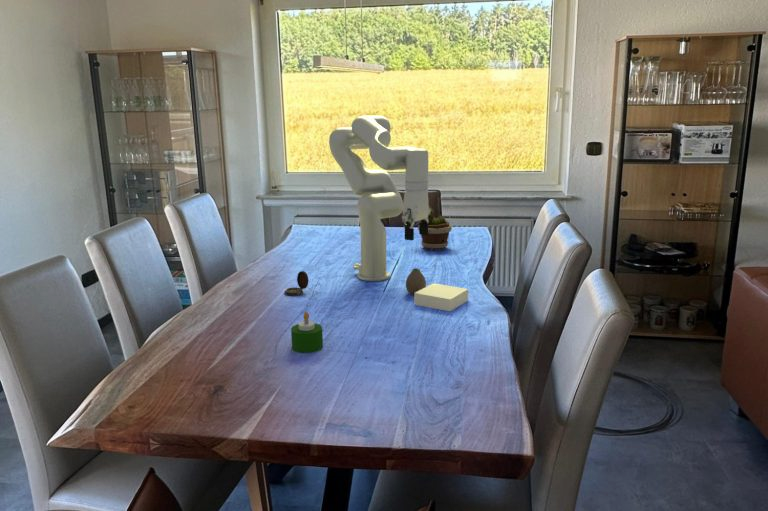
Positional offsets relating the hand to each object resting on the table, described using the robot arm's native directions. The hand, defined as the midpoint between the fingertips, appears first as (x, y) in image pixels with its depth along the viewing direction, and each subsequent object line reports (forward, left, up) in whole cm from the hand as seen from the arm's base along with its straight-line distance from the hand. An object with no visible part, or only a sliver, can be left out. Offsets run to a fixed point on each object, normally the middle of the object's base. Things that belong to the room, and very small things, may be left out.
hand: (416, 237), depth 209 cm
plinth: (+12, -4, -20) cm, 23 cm away
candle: (-1, -57, -20) cm, 61 cm away
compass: (-36, -21, -20) cm, 46 cm away
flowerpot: (-27, +64, -20) cm, 72 cm away
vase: (0, 0, -20) cm, 20 cm away
